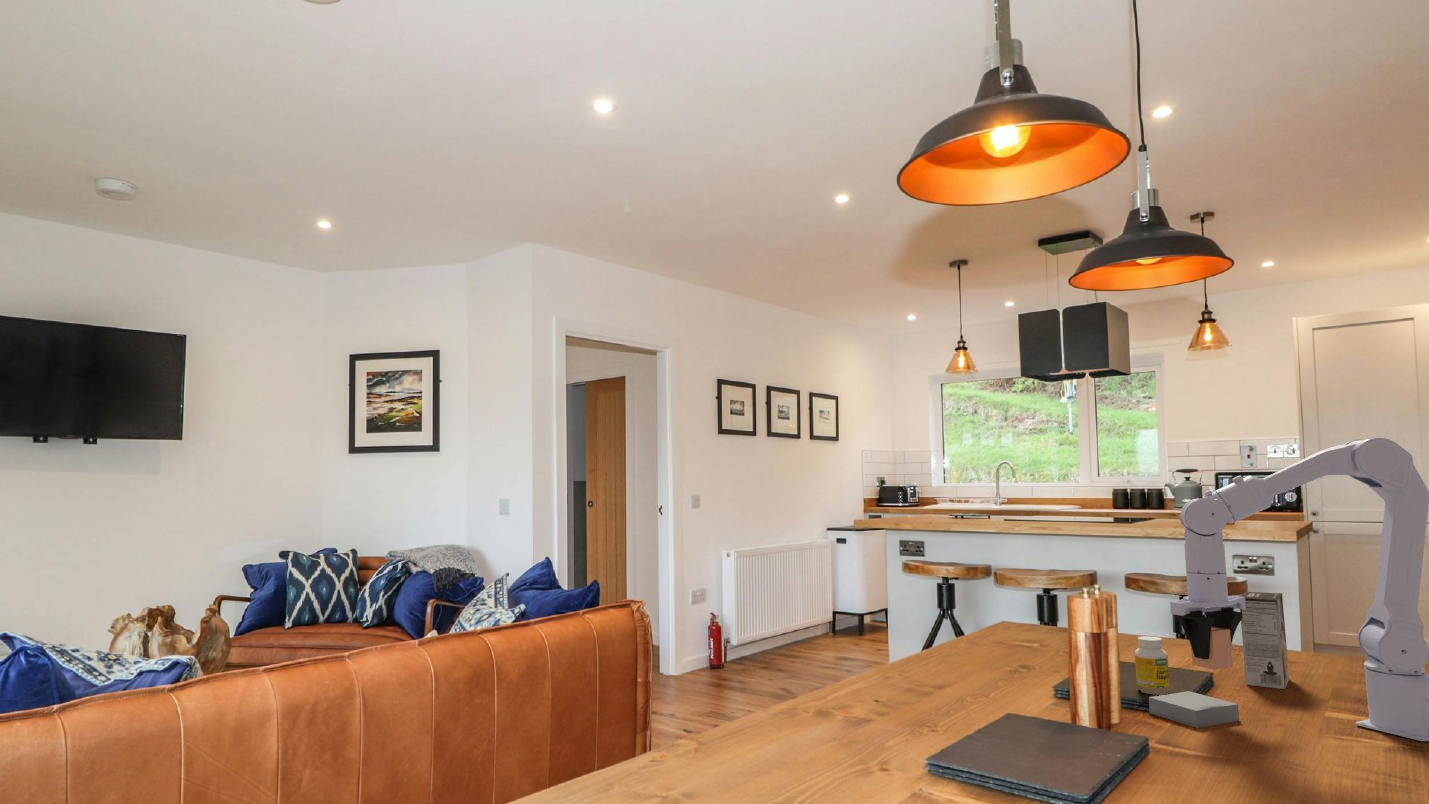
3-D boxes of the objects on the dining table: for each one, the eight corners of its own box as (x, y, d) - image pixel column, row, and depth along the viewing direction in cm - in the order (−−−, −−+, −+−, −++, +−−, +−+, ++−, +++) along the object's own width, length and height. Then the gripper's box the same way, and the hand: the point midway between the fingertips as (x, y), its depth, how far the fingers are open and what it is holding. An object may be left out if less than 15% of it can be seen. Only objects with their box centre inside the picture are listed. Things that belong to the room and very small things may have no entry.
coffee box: (1250, 675, 164) (1243, 590, 165) (1290, 679, 160) (1283, 592, 161) (1245, 685, 156) (1238, 596, 158) (1286, 689, 152) (1279, 599, 154)
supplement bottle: (1147, 687, 157) (1143, 634, 158) (1176, 692, 152) (1172, 638, 153) (1131, 691, 154) (1127, 637, 155) (1160, 697, 149) (1156, 642, 150)
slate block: (1239, 723, 135) (1238, 704, 135) (1197, 730, 132) (1196, 710, 132) (1190, 709, 143) (1188, 691, 144) (1149, 715, 140) (1148, 697, 140)
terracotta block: (1232, 667, 137) (1229, 629, 137) (1214, 669, 135) (1211, 631, 136) (1210, 662, 140) (1207, 625, 141) (1192, 664, 139) (1190, 627, 139)
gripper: (1215, 567, 145) (1221, 648, 144) (1152, 572, 140) (1157, 656, 139) (1255, 571, 139) (1261, 656, 138) (1189, 576, 134) (1195, 665, 132)
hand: (1211, 656), depth 138 cm, fingers closed on terracotta block, 4 cm apart
